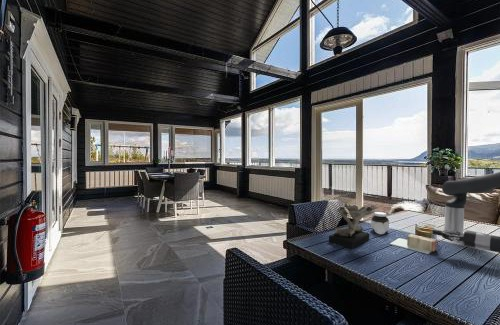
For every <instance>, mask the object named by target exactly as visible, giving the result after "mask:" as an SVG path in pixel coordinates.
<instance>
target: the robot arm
mask: <svg viewBox="0 0 500 325" xmlns="http://www.w3.org/2000/svg"><path fill="white" fill-rule="evenodd" d="M497 188H500V171H498V172H494V173H489V174H483V175H481V174H480V175H477V176H471V177H467V178H464V179H460V180H447V181H445V182H444V183H443V184H442V186H441V190H442V192H443V194H445V195H447V196H449V197H450V196H451V197H452V198H451V199H449V200H446V201H445V210H444V211H445V212H444V230H441V229H432V234H433V235H437V236H441V237H442V238H443V239H446V240H448V241H450V242H462V243H463V246H464V247H468V248H472V249H477V250H481V251H490V252H494V253H499V254H500V235H499V236H498V235H492V234H488V233H485V232H479V231H473V230H468V229H466V230H464V223H465V206H466V204H467V197H468V194H485V193H486V194H487V193H490V192H493V191H495V189H497Z"/></svg>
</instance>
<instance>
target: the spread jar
mask: <svg viewBox="0 0 500 325" xmlns="http://www.w3.org/2000/svg"><path fill="white" fill-rule="evenodd" d="M373 214H374V215H372V217H371V219H370V227H371V230H372V231H374V232H375V233H376V234H378V235H385V233H387V232H388V231H389V229H390V220H389V218H388V216H387V213H386V212H381V211H374V212H373Z"/></svg>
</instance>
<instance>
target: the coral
mask: <svg viewBox="0 0 500 325" xmlns="http://www.w3.org/2000/svg"><path fill="white" fill-rule="evenodd" d="M377 208H378V207H377V206H376V205H372V204H371V205H370V206H367V207H366V206H362V207H360V208H359V207H358V205H355V204H353V205H351V204H347V203H344V205H343V206H341V207H339V208H337V211H338V213H339V214H340V216H341V217H342V218H343V219H344V220H345V221H346V223H347V228H335V230H334V233H333V234H330V235H329V236H328V243H330V244H334V245H338V246H340V247H344V248H347V249H350V250H352V249H355V248H357V247H358V246H360V245H362V244H363V243H365V242H367V241H369V240H370V233H369V232H365V231H363V230H364V229H363V227H362V225H359V222H360V221H361V220H362V219H364V217H367V216H369V215H370V216H371V215H372V214H374V212H375V210H376V209H377ZM348 214H349V215H350V217H351V218H352V221H351V219H350V218H349V217H348Z"/></svg>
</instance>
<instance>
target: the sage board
mask: <svg viewBox="0 0 500 325" xmlns="http://www.w3.org/2000/svg"><path fill="white" fill-rule="evenodd" d="M389 245H391V246H394V247H399V248H403V249H407V250H411V251H414V252H417V253H418V252H419V253H422V254H426V255H430V254H431V253H432V252H433V251H429V250H425V249H421V248H417V247H413V246H409V245H407V238H406V239H405V238H401V237H399V238H397V239H395V240H393V241H392V242H390V243H389Z"/></svg>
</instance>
